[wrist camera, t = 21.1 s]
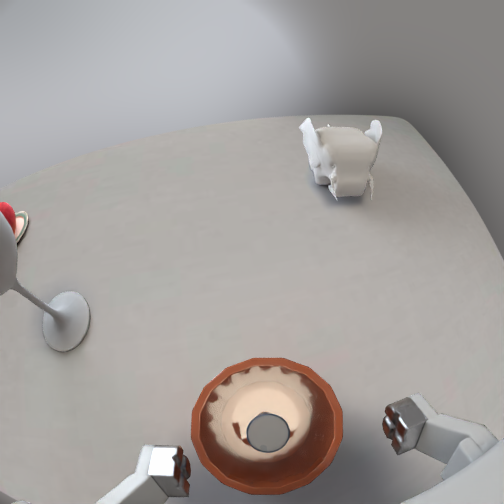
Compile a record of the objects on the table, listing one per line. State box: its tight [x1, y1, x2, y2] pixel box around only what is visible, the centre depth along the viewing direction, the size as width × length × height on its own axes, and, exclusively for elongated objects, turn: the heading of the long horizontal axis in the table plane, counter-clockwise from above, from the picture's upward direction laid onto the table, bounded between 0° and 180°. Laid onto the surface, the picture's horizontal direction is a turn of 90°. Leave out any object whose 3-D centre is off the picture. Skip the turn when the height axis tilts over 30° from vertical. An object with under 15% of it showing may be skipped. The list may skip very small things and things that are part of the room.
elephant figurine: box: [299, 118, 382, 202], centre depth 31 cm, size 10×12×9 cm
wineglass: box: [0, 212, 90, 352], centre depth 17 cm, size 8×8×21 cm
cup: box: [191, 358, 343, 495], centre depth 17 cm, size 8×8×9 cm
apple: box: [0, 202, 28, 243], centre depth 30 cm, size 8×8×6 cm
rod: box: [246, 412, 290, 453], centre depth 15 cm, size 2×2×12 cm
